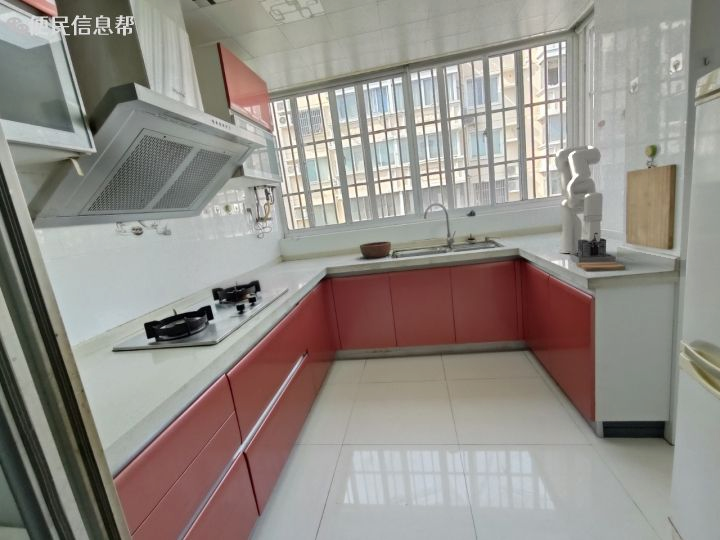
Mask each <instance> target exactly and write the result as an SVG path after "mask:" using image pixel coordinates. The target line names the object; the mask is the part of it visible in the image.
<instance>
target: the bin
mask: <svg viewBox="0 0 720 540" xmlns="http://www.w3.org/2000/svg"><path fill="white" fill-rule="evenodd" d="M570 259H571V260H570V261H572V262H573V261H574V262H573V263H575V262H576V264H577V263H580V262H600V261H614V262H617V256H615V255H614V254H610V253H608V252H606V257H591V258H579V257H578V254H570Z"/></svg>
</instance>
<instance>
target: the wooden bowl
mask: <svg viewBox="0 0 720 540" xmlns="http://www.w3.org/2000/svg"><path fill="white" fill-rule="evenodd" d="M391 243H392V242H391V241H374V242H367V243H362V244H360V245H359V249H360V253H361V255H362V257H364V259H377V258H378V259H379V258H383V257H384V258H385V257H387V256H389V255H390V252H391V247H392V244H391Z"/></svg>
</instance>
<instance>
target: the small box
mask: <svg viewBox="0 0 720 540" xmlns="http://www.w3.org/2000/svg"><path fill="white" fill-rule="evenodd" d="M592 241H595V240H592ZM593 244H594V243H593ZM590 252H591V242H588V241H587V240H584V239H583V238H582V239H581V240H578V257H579V258H591V257H606V253H607V239H606V238H602V237H600V242H599V248H598V255H590Z"/></svg>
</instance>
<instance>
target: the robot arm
mask: <svg viewBox="0 0 720 540" xmlns="http://www.w3.org/2000/svg"><path fill="white" fill-rule="evenodd" d="M601 157H602V156H601V152H600V150H599V149H598V148H597V147H596V146H593V145H590V144H589V145H588V144H585V145H579V146H570V147H565V148H562V149H559V150H557V152H556V153H555V156H554V162H555V167H556V169H557V171H558V173H559V180H560V188H561V193H562V196H564V197H565V199H563V200H562V201H561V202H560V213H561V223H562V224H561V226H562V227H561V229H562V230H561V232H562V233H561V236H562V237H561V242H562V243H561V245H562V246H561V247H562V248H561V249H559V250H558V252H560V253H559V254H563V253H570V254H569V255H571V254H577V253H578V240H583V239H584V240H587V241H588V242H591V252H590V255H598V248H599V242H600V238H602V237H601V235H602V234H601V233H602V230H601V229H602V227H601V226H602V225H601V222H602V221H603V199H604V198H603V197H604V196H603V193H602V192H596V191H597V190H596V184H595V181H594V180H593V178H591V176H592V173H591V171H592V170H591V168H590V165H592V166H593V165H597V164H599V162H600V160H601ZM578 215H583V223H582V219H580V217H579V216H578ZM582 227H583V229H582ZM582 230H583V231H582ZM592 240H595V241H592ZM593 243H594V244H593Z"/></svg>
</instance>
